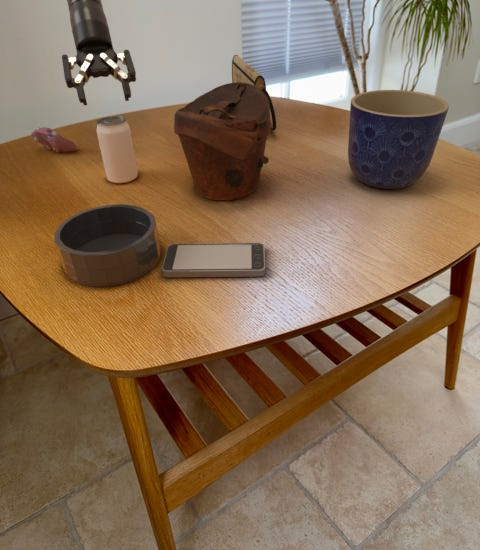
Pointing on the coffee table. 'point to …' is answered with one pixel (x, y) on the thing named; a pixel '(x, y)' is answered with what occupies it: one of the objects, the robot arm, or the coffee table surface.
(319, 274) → the coffee table surface
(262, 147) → the case
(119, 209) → the bowl
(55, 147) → the raw meat chunk
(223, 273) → the smartphone
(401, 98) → the planter
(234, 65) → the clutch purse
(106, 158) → the can
